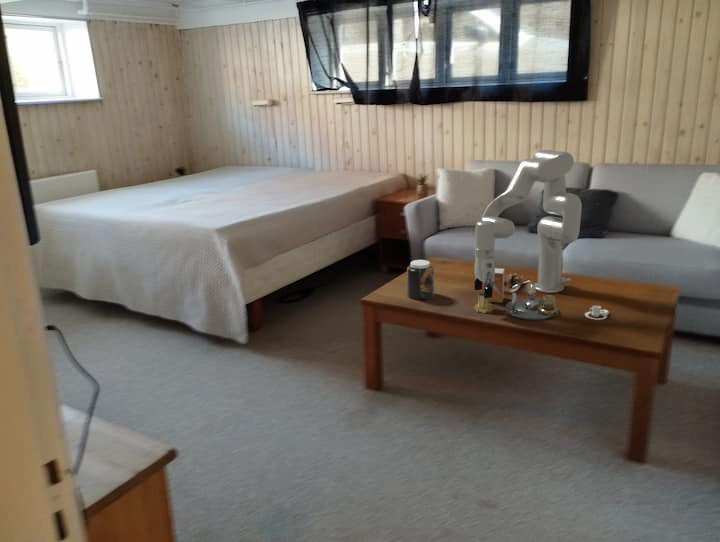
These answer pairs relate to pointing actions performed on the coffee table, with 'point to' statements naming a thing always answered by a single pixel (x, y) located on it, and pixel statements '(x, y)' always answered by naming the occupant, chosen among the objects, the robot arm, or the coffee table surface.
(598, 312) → the teacup and saucer
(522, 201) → the robot arm
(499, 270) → the small box
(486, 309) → the gear
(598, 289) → the coffee table surface
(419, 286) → the jar
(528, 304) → the carrier
